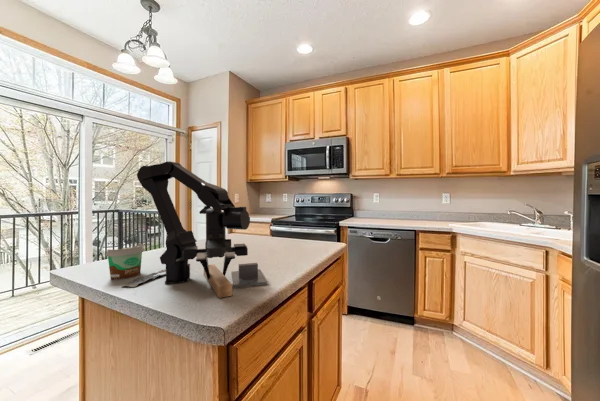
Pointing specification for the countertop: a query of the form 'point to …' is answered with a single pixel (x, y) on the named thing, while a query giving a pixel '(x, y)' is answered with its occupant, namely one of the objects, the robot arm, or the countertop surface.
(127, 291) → the countertop surface
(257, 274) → the ridge stand
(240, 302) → the countertop surface
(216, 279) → the oak rod
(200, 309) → the countertop surface
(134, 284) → the driftwood
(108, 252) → the food container
